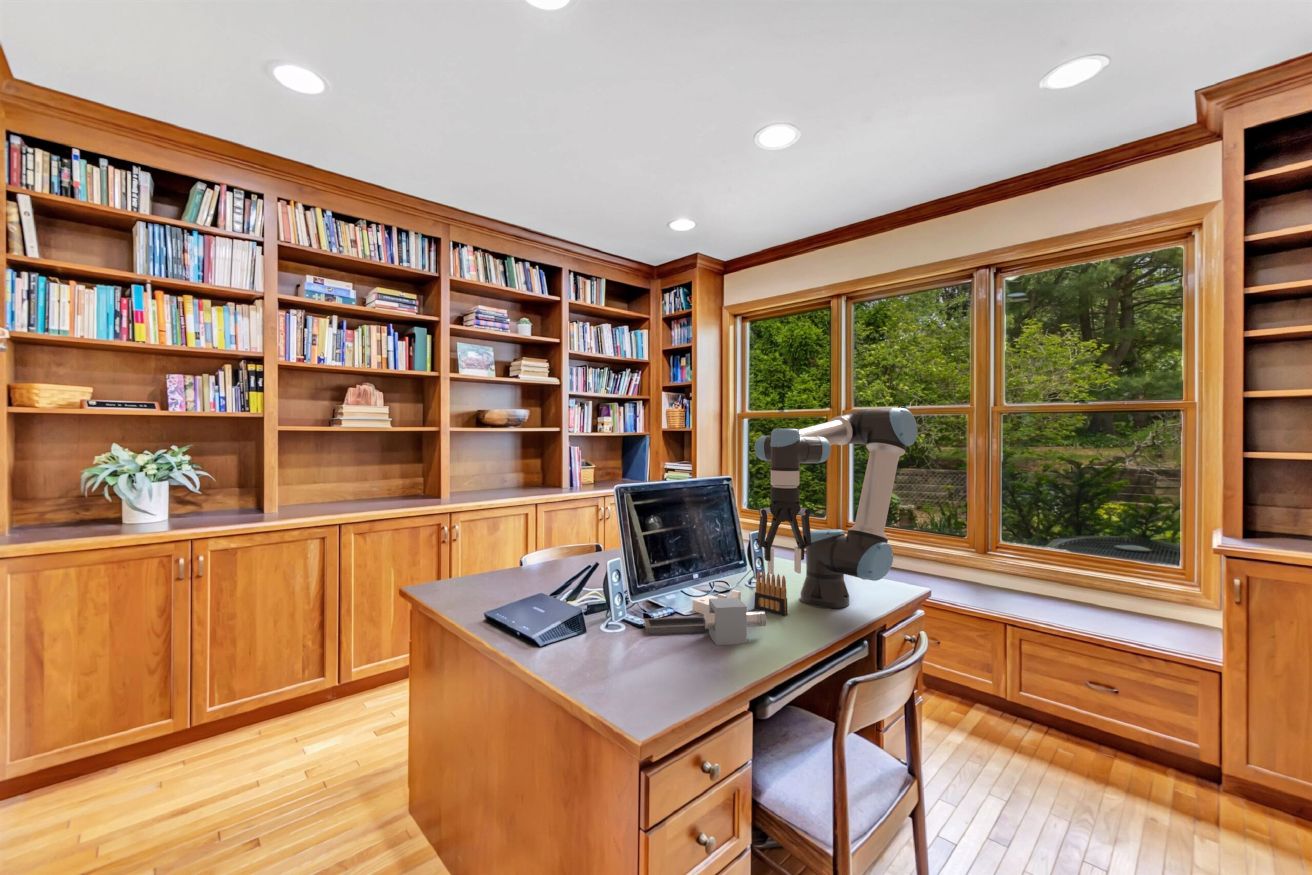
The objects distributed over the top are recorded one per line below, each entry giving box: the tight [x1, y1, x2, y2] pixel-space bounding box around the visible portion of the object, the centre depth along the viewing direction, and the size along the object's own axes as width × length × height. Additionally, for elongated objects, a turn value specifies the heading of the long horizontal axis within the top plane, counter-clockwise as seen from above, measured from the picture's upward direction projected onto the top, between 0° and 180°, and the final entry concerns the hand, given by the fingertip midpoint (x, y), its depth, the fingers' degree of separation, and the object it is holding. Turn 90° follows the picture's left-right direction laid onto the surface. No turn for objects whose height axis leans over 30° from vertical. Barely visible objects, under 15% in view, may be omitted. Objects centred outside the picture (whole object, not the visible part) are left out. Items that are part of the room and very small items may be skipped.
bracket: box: [691, 589, 742, 615], centre depth 165 cm, size 13×7×8 cm, turn 41°
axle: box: [702, 610, 767, 629], centre depth 145 cm, size 16×4×4 cm, turn 98°
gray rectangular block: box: [708, 597, 748, 646], centre depth 145 cm, size 8×8×10 cm
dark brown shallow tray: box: [643, 615, 709, 636], centre depth 152 cm, size 21×7×2 cm, turn 98°
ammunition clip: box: [753, 569, 789, 617], centre depth 167 cm, size 11×2×12 cm, turn 46°
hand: (784, 572), depth 147 cm, fingers open, 7 cm apart
